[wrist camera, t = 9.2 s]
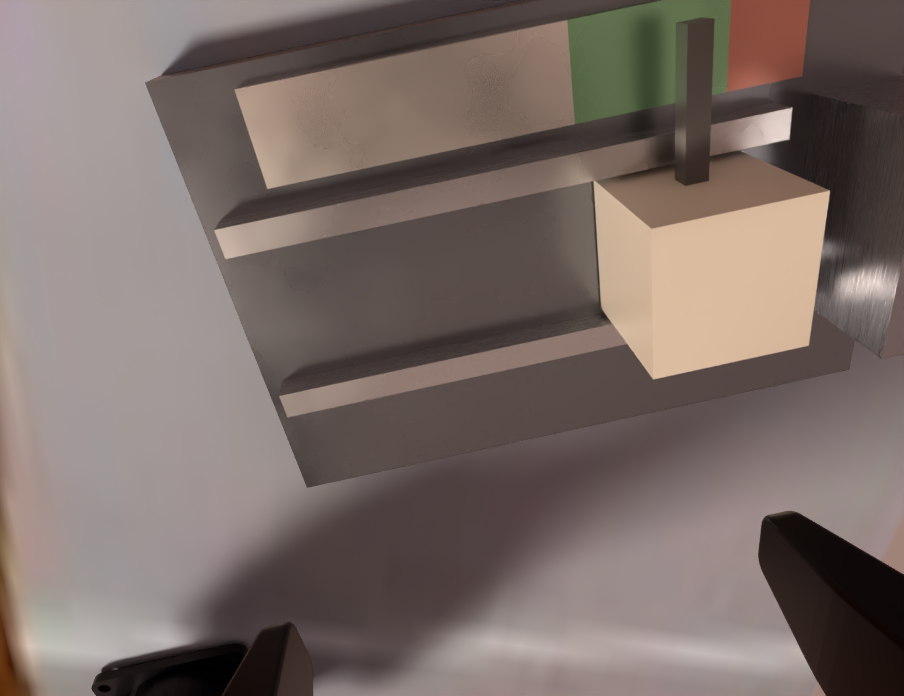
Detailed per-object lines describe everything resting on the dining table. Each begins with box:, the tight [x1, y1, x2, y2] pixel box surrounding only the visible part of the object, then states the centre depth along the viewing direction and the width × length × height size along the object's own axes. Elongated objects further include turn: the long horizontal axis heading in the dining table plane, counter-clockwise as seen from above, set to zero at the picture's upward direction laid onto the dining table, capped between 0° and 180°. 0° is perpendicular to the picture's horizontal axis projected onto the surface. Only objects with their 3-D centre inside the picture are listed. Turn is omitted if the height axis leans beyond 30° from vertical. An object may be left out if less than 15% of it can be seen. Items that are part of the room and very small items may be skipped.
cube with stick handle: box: [594, 17, 830, 379], centre depth 15 cm, size 4×8×4 cm, turn 10°
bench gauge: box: [145, 0, 904, 488], centre depth 17 cm, size 19×13×5 cm
